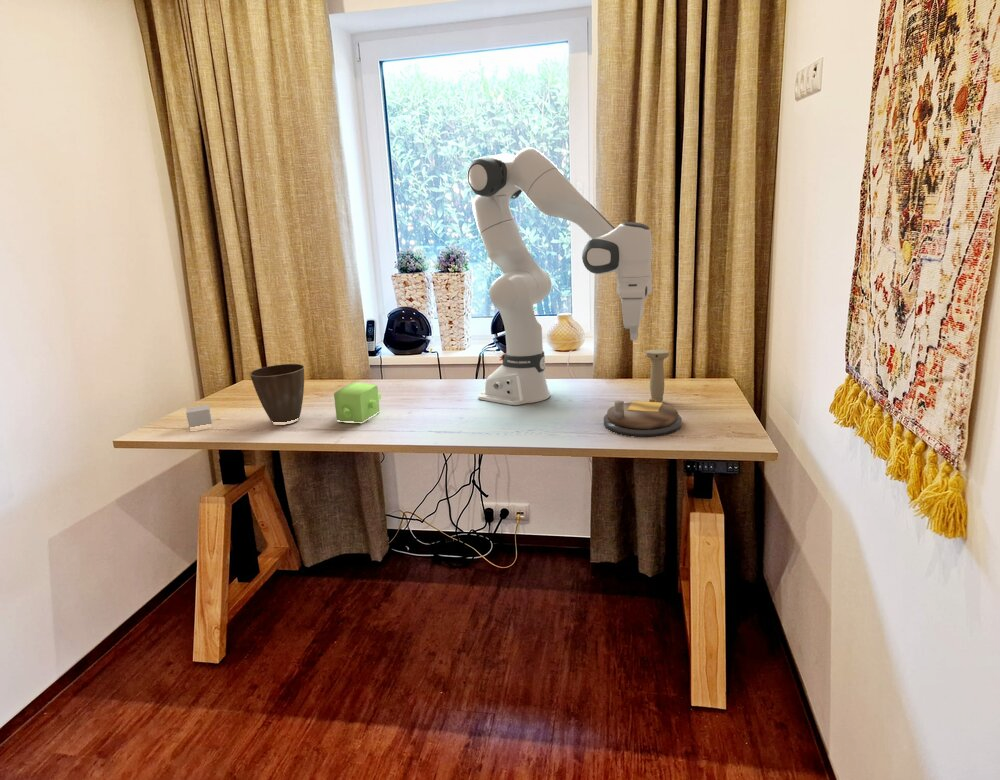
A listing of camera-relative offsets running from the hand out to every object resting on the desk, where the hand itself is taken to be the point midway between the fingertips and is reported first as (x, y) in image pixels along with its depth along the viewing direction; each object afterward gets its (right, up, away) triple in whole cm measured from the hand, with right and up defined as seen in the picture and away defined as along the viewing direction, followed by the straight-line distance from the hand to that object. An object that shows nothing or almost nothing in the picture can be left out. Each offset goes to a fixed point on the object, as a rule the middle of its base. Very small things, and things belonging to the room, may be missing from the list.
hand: (634, 339), depth 165 cm
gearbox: (-77, -22, +18) cm, 82 cm away
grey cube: (-124, -25, +20) cm, 128 cm away
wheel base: (+2, -22, -1) cm, 23 cm away
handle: (+10, -17, +16) cm, 26 cm away
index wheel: (+2, -21, -2) cm, 21 cm away
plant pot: (-99, -23, +20) cm, 104 cm away
